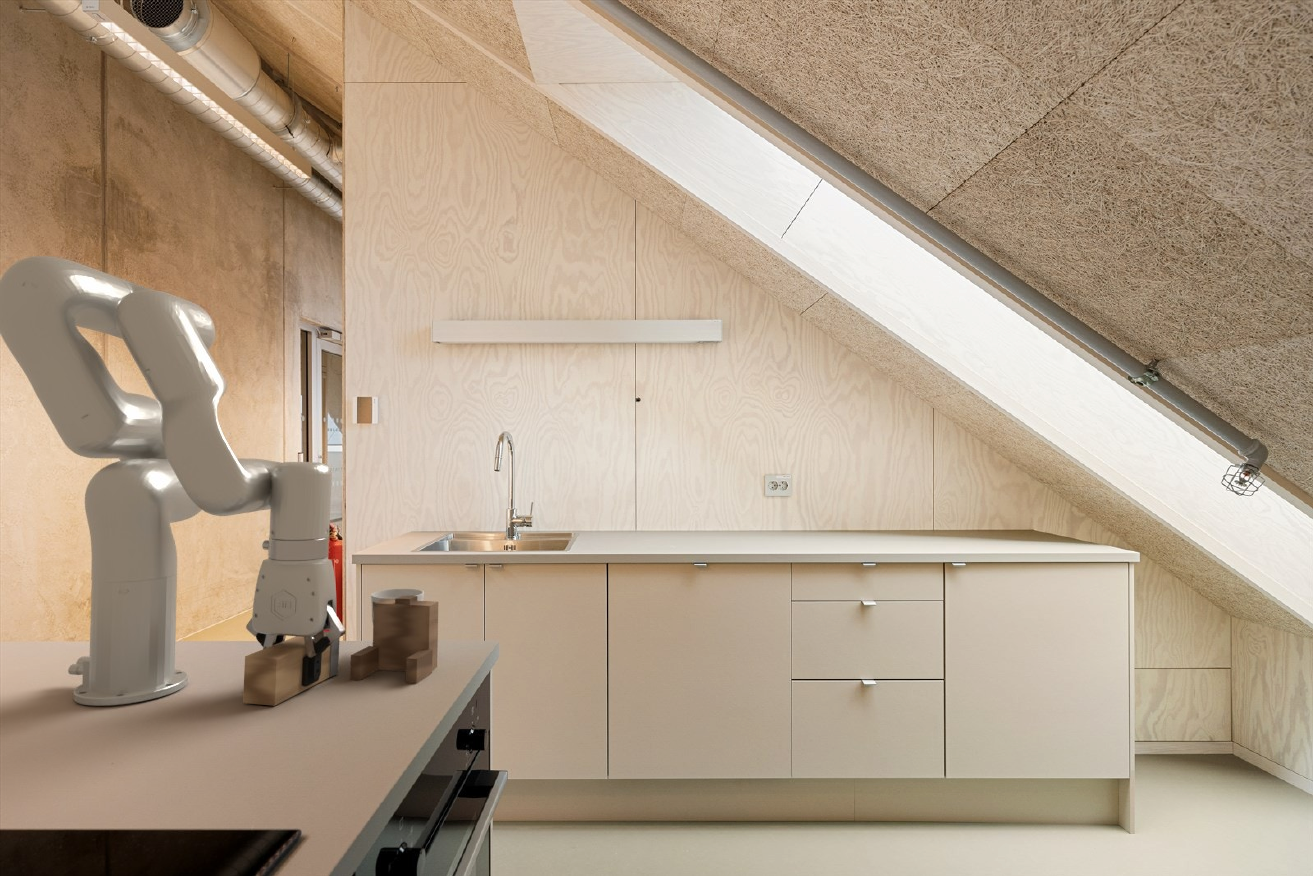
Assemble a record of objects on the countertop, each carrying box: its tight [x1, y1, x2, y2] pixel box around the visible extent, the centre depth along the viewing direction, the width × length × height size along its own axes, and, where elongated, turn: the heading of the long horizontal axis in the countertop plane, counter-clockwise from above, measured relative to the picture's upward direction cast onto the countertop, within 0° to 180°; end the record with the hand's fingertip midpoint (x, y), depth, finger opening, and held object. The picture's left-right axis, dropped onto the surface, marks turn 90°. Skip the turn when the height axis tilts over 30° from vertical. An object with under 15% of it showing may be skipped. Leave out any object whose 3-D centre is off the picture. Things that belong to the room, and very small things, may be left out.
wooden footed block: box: [349, 595, 439, 684], centre depth 108 cm, size 10×8×11 cm
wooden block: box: [242, 630, 341, 707], centre depth 101 cm, size 5×14×6 cm, turn 172°
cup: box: [370, 588, 425, 623], centre depth 118 cm, size 8×8×10 cm
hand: (293, 680), depth 101 cm, fingers closed on wooden block, 4 cm apart
